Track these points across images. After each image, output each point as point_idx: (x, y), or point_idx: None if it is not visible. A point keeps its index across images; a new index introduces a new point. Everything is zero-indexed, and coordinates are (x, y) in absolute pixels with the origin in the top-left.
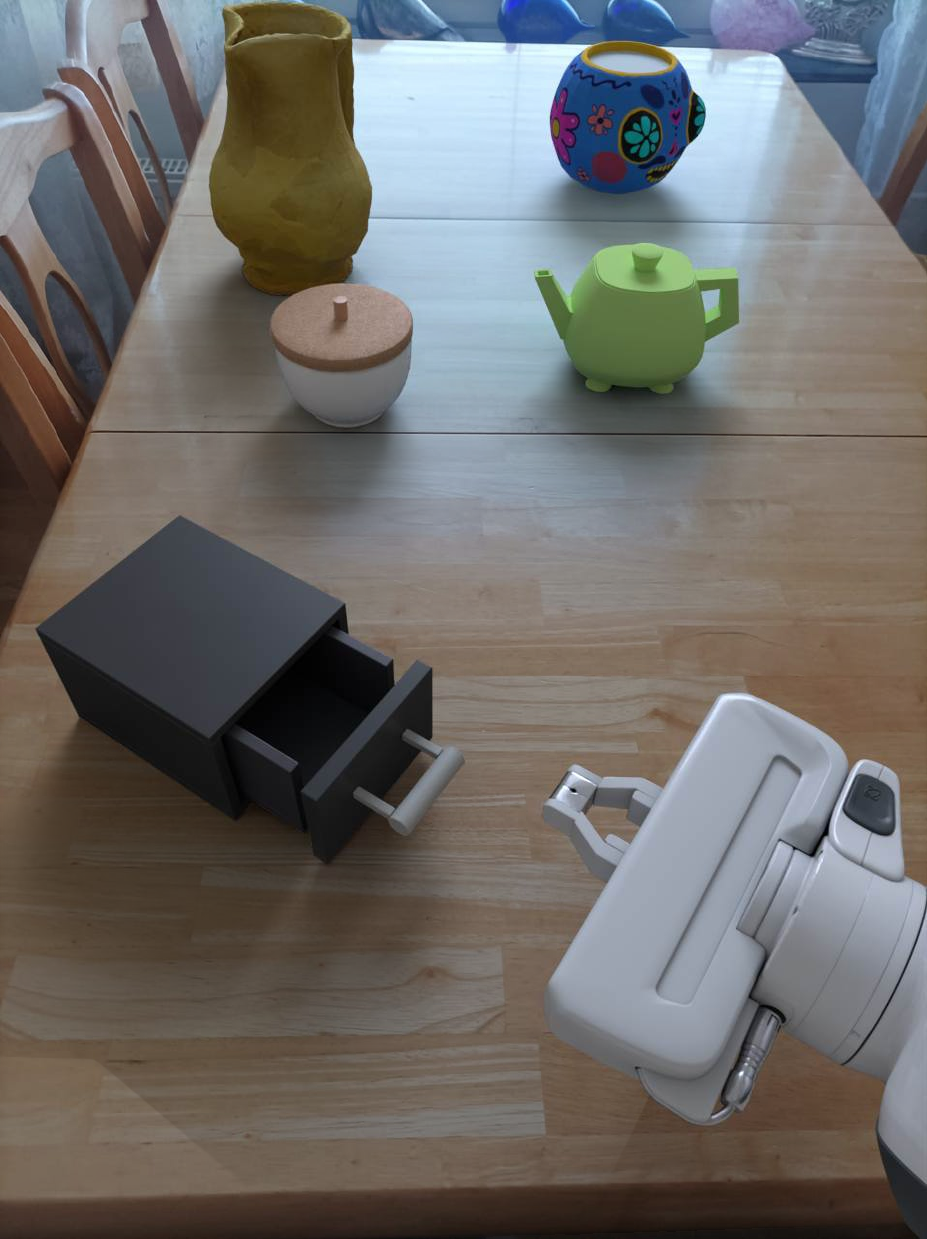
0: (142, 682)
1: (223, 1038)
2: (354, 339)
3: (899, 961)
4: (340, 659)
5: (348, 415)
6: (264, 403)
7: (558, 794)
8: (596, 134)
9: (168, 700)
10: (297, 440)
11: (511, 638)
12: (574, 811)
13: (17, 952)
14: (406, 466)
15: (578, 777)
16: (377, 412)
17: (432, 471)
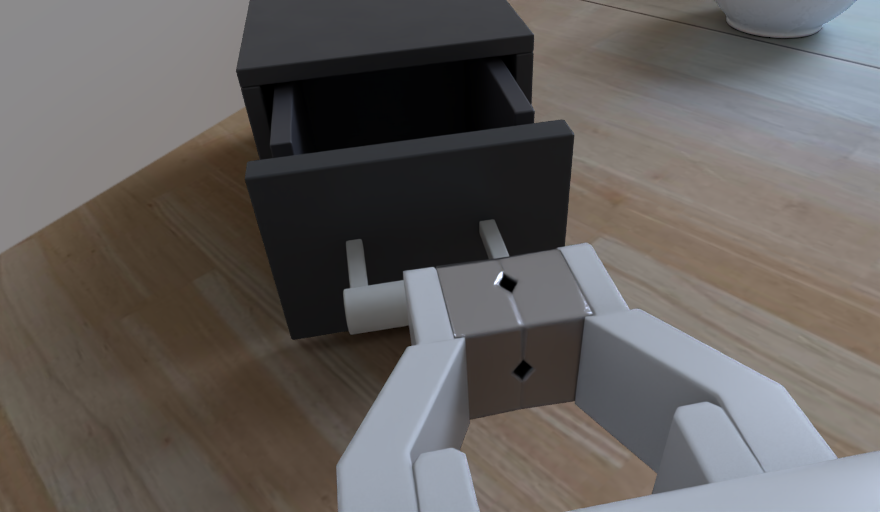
0: (261, 19)
1: (10, 427)
2: None
3: None
4: (491, 114)
5: (757, 6)
6: (683, 3)
7: (458, 267)
8: None
9: (257, 35)
10: (689, 30)
11: (793, 267)
12: (446, 324)
13: (36, 236)
14: (796, 76)
15: (560, 268)
16: (796, 16)
17: (827, 89)
